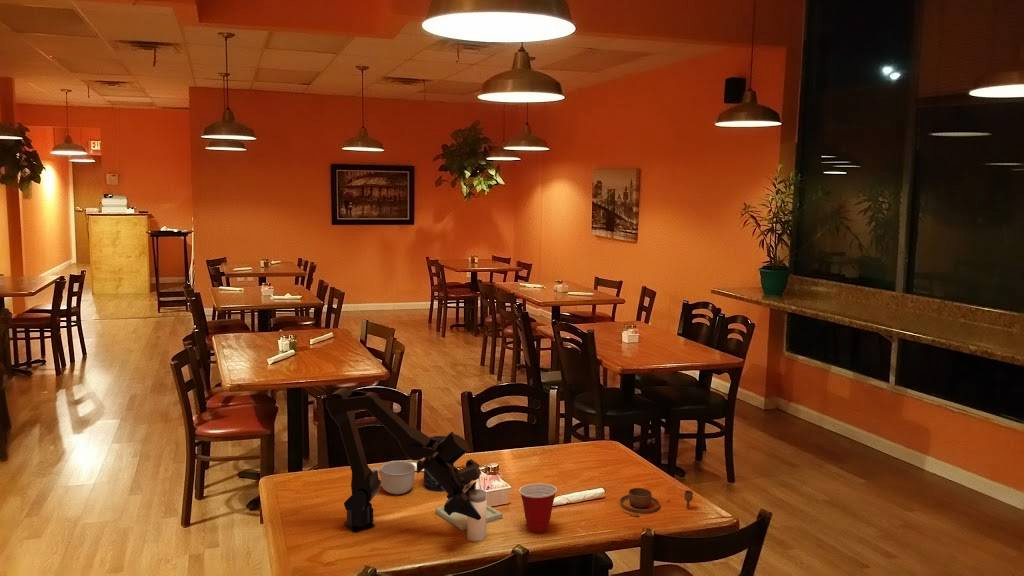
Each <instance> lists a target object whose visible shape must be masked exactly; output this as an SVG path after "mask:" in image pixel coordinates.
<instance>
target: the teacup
mask: <svg viewBox="0 0 1024 576" xmlns="http://www.w3.org/2000/svg"><path fill="white" fill-rule="evenodd" d="M370 469H371V471H372V472H374V471H376V470H377V472H378V475H379V476H380V479H379V480H380V482H381V484H380V487H382V488H383V490H385V492H387V493H388V494H391V495H403V494H407V492H409V491H410V490H411V489H412V488H413V487H414V484H415V478H416V477H415V474H416V473H415V472H416V466H415V464H413V463H412V462H410V461H406V460H391V461H386V462H384V463H383V464H382V465H381V466H380V467H377V466H376V467H373V468H370Z"/></svg>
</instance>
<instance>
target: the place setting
mask: <svg viewBox="0 0 1024 576" xmlns="http://www.w3.org/2000/svg"><path fill="white" fill-rule="evenodd" d="M652 494H653V493H652V491H651V490H649V489H648V488H647V489H646V488H645V487H644V488H643V487H632V488H630V489H629V490H628V494H627V495H623V496H622V497H620V498H619V504H620V506H621V507H622V508H623V509H624V510H626V511H628V510H629V511H628V512H626V511H623V512H624V513H623V514H627V513H628V515H629V516H630V514H629V513H631V514H633V515H635V516H634V518H638V517H640V514H650V512H651V513H653V512H656V511H657V510H659V507H660V501H659V500H658V499H657V498H656V497H653V495H652ZM683 496H684V500H685V501H686V505H685V506H686V508H685V510H687V509H688V510H687V511H689V510H690V509H691V508H690V507H691V505H690V502H692V501H693V497H694V493H693V491H692V490H684V495H683ZM628 499H629V500H628ZM625 500H626V501H629V504H631V505H632V507H629V506H627V505H625V504H624V502H625ZM651 501H653V502H654V503H655V504H656V505H657V507H656V505H655V504H654V503H653V502H651ZM669 502H670V500H668V502H667V503H669ZM651 503H653V504H654V505H655V507H652V508H648V509H644V508H646V507H647V506H648V505H650V504H651ZM633 507H635V508H633ZM642 508H643V509H642ZM631 511H632V512H631ZM635 512H636V513H635ZM633 515H631V516H630V517H633Z"/></svg>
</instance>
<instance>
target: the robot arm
mask: <svg viewBox="0 0 1024 576" xmlns="http://www.w3.org/2000/svg"><path fill="white" fill-rule="evenodd" d="M325 401H326V402H325V406H326V408H327V410H328V412H329V415H330V417H331V418H332V419H333V421H334V422H335V423H336V424H337V425H338V428H339V429H338V430H339V432H340V436H341V439H342V443H343V446H344V450H345V454H346V457H347V460H348V464H349V468H350V471H351V481H350V488H351V495H350V496H349V497H347V499H346V500H345V501H344V503H343V506H344V508H345V510H346V521H344V522H343V525H345V526H346V528H348V529H349V530H350V531H352V532H353V533H358V532H360V531H361V532H362V531H365V530H368V529H372V528H374V527H375V526H376V525H375V524H374V508H373V504H372V503H371V501H372V500H373V499H375V497H376V496H377V494H378V493H379V491H380V488H381V486H380V484H381V482H380V480H381V479H380V478H379V472H378V471H377V470H376V471H374V472H372V471H371V469H372V468H370V467H369V465H368V461H367V458H366V455H365V454H366V453H365V451H364V447H363V443H362V440H361V437H360V433H359V430H358V426H357V425H358V424H357V423H356V420H355V419H356V418H355V417H356V411H359V410H367V411H368V413H369V414H371V416H372V417H373V418H374V419H375V420H377V421H378V422H379V423H380V424H381V425H382V427H384V428H385V429H386V430H387V431H388V432H390V434H391V435H393V437H394V438H395V439H396V440H397V441H398V443H399V446H400V448H401V450H402V451H403V452H404V454H405V455H406V456H407V457H408V458H409V459H410V460H411V461H417V462H416V463H415V464H416V470H415V472H416V473H417V474H419V473H420V472H422V471H424V470H425V471H426V472H427V473H428V474H429V475H430V476H431V477H432V478H433V479H434V480H435V481H436V482H437V485H436V486H437V487H438V488H440V487H441V488H442V489H443V490H444V491H443V492H445V493H446V494H447V495H446V498H447V500H446V502H445V503H444V505H443V506H444V511H445V512H446V513H447V514H448V515H451V514H452V513H455V512H456V513H459V514H463V515H466V516H468V517H471V518H474V519H476V520H480V519H481V516H480V514H479V513H478V512H477V510H476V509H475V507H474V506H473V505H472V503H471V502H470V495H468V492H469V491H470V490H474V489H477V487H476V485H477V480H478V479H480V476H481V474H482V472H481V470H480V464H479V463H478V461H475V460H473V459H472V458H470V459H468V460H466V461H465V462H466V463H465V466H463V467H462V468H460V469H459V468H458V467H457V466H454V467H453V468H452V467H451V466H450V465H449V463H456V462H457V461H458V460H459V459H460V458H462V457H463V455H465V454H466V453H467V452H468V451H469V450H470V446H469V445H468V443H467V441H466V440H465V438H464V437H461V435H459V434H456V433H454V431H451V432H449V433H448V434H447V435H446V436H447V437H446V438H445V439H444V440H443V441H440V440H436V439H431V438H429V437H430V436H428V435H426V433H424V432H422V431H421V430H419V429H417V428H416V427H411V426H410V425H409V424H407V422H406V421H404V419H402V418H401V417H400V416H399V415H398V414H397V413H396V412H395V411H394V410H393V409H392V408H391V407H390V406H389V405H387V404H386V403H385V401H383V400H382V399H381V398H380V397H379V394H378V393H376V392H373V391H363V390H362V391H361V390H351V389H350V388H345V387H343V388H342V387H341V388H339V389H337V390H336V391H334V392H333V393H331V394H330V395H328V397H327V399H326V400H325ZM436 451H437V453H436V454H435V455H433V454H434V453H435V452H436ZM424 457H426V458H424ZM472 481H473V483H472Z"/></svg>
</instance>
